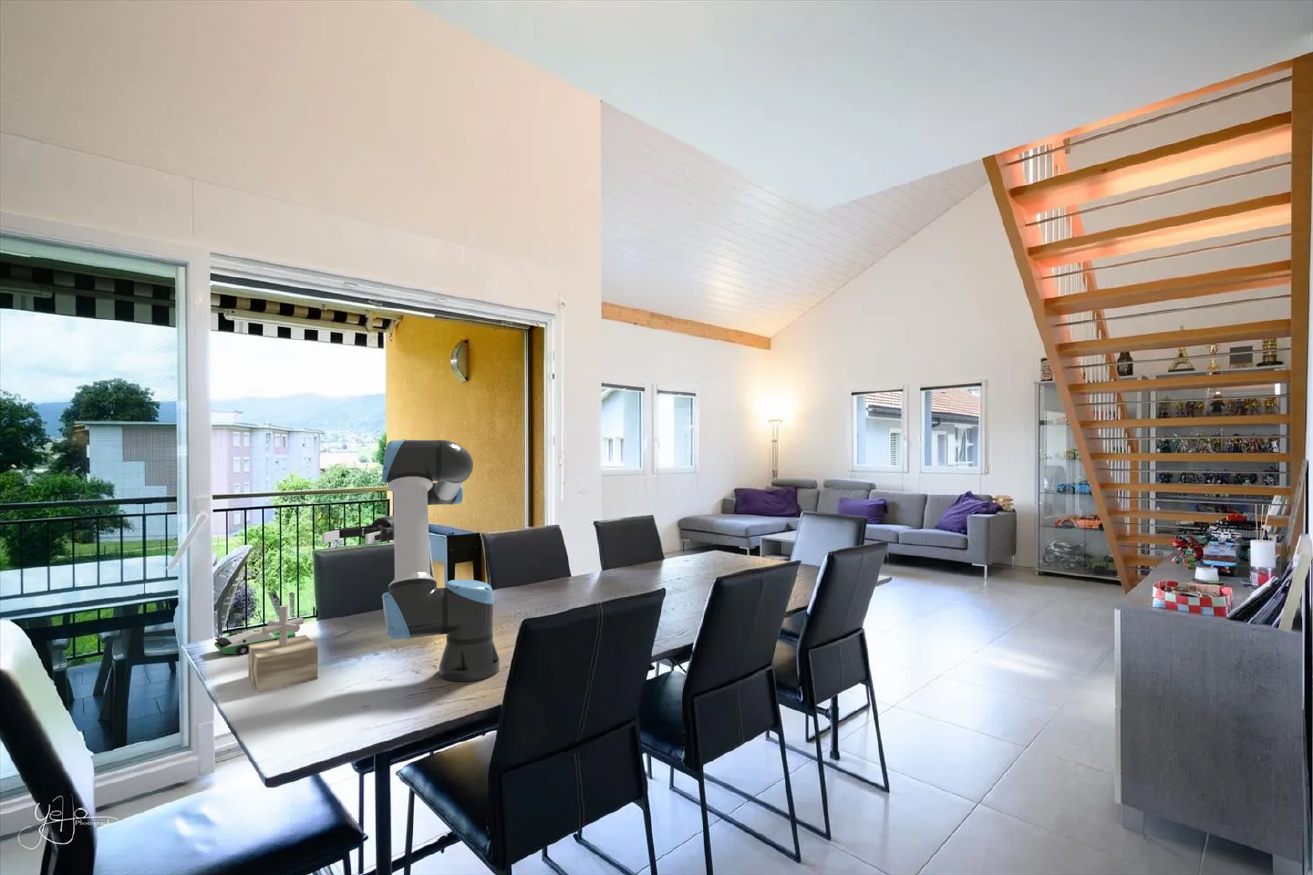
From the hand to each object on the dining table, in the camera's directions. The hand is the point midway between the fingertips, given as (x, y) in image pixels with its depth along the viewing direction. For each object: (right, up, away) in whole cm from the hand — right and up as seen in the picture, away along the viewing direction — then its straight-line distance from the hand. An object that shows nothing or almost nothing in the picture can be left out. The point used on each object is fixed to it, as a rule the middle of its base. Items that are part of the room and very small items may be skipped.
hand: (344, 538), depth 183 cm
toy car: (-27, -33, +3) cm, 42 cm away
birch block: (-6, -32, -20) cm, 38 cm away
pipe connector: (-6, -24, -20) cm, 32 cm away
